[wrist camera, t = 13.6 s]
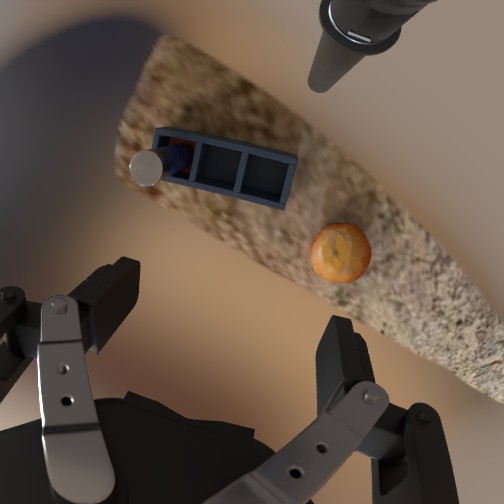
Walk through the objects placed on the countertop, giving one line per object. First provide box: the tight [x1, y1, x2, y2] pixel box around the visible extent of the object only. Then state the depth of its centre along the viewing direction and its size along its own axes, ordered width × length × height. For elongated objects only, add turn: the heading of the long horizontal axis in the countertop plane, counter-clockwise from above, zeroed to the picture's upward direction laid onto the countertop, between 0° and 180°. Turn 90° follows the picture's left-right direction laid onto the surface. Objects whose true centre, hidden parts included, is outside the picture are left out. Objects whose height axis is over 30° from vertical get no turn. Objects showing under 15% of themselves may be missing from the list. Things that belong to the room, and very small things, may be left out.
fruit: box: [311, 223, 371, 283], centre depth 42 cm, size 8×8×8 cm
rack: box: [152, 127, 298, 210], centre depth 40 cm, size 7×18×4 cm, turn 77°
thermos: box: [130, 142, 195, 186], centre depth 36 cm, size 4×4×12 cm
